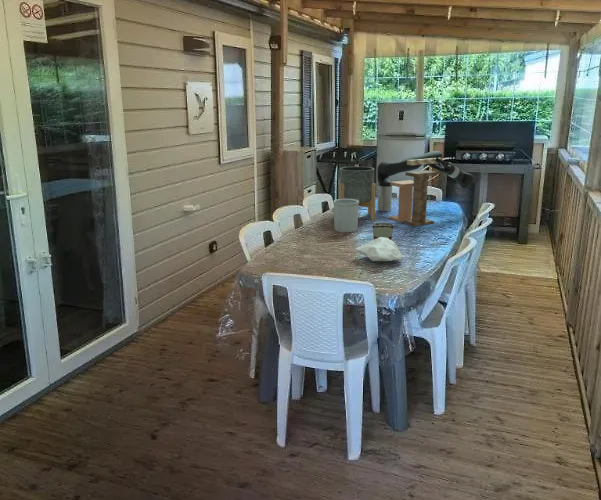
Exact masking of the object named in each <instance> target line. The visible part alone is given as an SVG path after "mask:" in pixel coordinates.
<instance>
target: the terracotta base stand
mask: <svg viewBox="0 0 601 500" xmlns="http://www.w3.org/2000/svg"><path fill="white" fill-rule="evenodd" d="M390 185H392V187H398V207H397V208H398V210H397V211H398V212H397V215H391V216H388V219H389V220H392V221H395V222H399V223H403V221H406V220H412V207H413V185H414V179H413V180H412V179H407V180H405V179H404V180H396V181H392V182H390Z"/></svg>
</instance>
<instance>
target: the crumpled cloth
mask: <svg viewBox="0 0 601 500" xmlns="http://www.w3.org/2000/svg"><path fill="white" fill-rule="evenodd" d="M398 247H399V246H398V245H397V244H396V243H395V242H394V241H393V239H392V240H390V239H389V238H384V237H379V238H377V239H374V238H373V239H372V240H370V241H368V242H367V243H366V244H364V245H360V246H357V247H356V248H354V250H355V252H356V253H358V254H360V255H363V256H365V257H367V258H368V259H370V261H372V262H390V261H391V262H392V261H402V260H403V254H402V253H401V251H400V250H399V248H398Z"/></svg>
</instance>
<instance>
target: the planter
mask: <svg viewBox="0 0 601 500" xmlns="http://www.w3.org/2000/svg"><path fill="white" fill-rule="evenodd" d="M376 191H377V184H376V183H375V168H374V167H369V166H343V167H339V178H338V199H355V200H358V201H359V204H358V207H364V208H367V215H369V216H370V221H371V222H374V221H375V220H376Z"/></svg>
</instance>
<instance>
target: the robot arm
mask: <svg viewBox="0 0 601 500" xmlns="http://www.w3.org/2000/svg"><path fill="white" fill-rule="evenodd" d="M428 158H436V161H437V162H438V163H434V164H427V165H428V166H429V167H430V168H432V169H434V170H437V171H439V172H441V173H443V174H446V175H447V176H448V177H450V178H452V179H453V180H455V181H456V183H457V184H458V186H459V187H460V188H462V189H468V188H469V186H470V185H471V184H472V182H473V181H474V179H475V177H474V175H473V174H471V173H468V172H464V171H462V170H461V169H459V168H458V167H457V166H456V165H454V164H453V163H452V162H447V161H445V160H440V159H439V158H443V153H442V152H441V151H439V150H431V151H428V152H425V153H422V154H418V155H415V156H409V157H406V158H404V159H402V160H401V161H398V162H388V161H382V162H380V163H379V164H378V166H377V171H376V172H377V173H376V174H377V176H376V177H377V183H378V188H377V189H378V193H377V212H391V211H392V199H393V198H392V195H393V186H392V185H390V182H393V181H392V180H391V179H390V177H392V176H394V175H397V174H400V173H406V172H412V171H416V170H417V169H419V168H421V167H422V166H423V165H424V164H422V165H407V160H415V159H428Z"/></svg>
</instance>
